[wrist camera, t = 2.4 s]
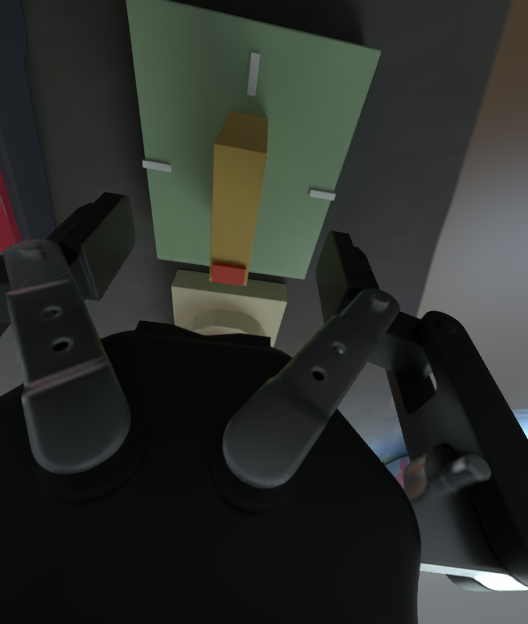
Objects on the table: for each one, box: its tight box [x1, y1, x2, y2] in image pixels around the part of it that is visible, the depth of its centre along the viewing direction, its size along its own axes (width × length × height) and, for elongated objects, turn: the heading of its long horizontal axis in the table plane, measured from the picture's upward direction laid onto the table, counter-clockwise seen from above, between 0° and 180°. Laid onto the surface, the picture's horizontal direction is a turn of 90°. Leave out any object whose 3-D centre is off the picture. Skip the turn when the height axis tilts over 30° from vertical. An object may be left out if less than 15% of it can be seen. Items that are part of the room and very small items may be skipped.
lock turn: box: [209, 111, 268, 286], centre depth 13 cm, size 6×2×5 cm, turn 171°
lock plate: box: [126, 0, 381, 279], centre depth 16 cm, size 12×10×3 cm
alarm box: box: [171, 269, 287, 347], centre depth 26 cm, size 11×9×4 cm
